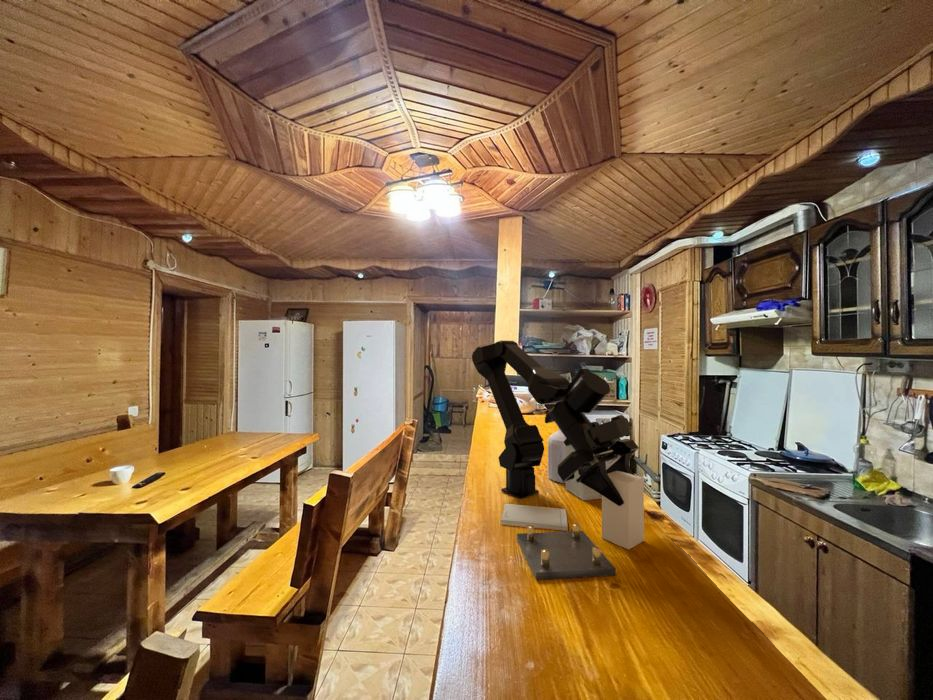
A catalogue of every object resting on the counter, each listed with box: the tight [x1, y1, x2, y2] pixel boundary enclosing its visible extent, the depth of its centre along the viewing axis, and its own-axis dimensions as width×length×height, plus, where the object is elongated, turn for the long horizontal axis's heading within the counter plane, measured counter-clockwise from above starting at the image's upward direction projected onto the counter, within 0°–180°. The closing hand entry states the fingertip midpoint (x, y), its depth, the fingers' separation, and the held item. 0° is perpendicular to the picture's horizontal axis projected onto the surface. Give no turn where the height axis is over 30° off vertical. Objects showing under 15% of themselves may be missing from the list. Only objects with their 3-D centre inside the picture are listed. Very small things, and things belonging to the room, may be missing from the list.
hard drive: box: [500, 503, 569, 532], centre depth 75 cm, size 2×8×12 cm
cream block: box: [601, 471, 645, 550], centre depth 66 cm, size 5×5×11 cm
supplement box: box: [565, 445, 610, 501], centre depth 88 cm, size 7×7×13 cm
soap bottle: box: [547, 428, 566, 484], centre depth 99 cm, size 9×9×25 cm
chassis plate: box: [516, 522, 617, 581], centre depth 61 cm, size 12×12×3 cm
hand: (630, 501), depth 65 cm, fingers closed on cream block, 5 cm apart
